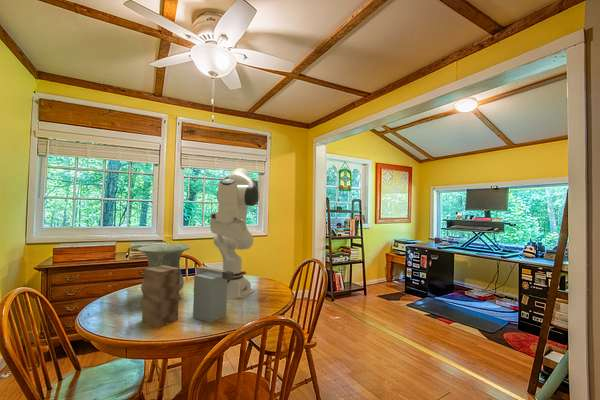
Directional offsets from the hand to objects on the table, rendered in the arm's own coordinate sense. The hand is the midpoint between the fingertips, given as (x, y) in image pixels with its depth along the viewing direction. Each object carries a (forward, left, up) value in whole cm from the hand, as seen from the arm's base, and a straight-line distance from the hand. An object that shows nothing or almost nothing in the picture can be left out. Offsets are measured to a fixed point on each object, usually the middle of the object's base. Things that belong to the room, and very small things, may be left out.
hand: (228, 246), depth 123 cm
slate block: (-4, -15, -36) cm, 39 cm away
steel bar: (-4, -13, -16) cm, 21 cm away
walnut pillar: (+12, -30, -36) cm, 48 cm away
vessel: (-5, -54, -36) cm, 65 cm away
